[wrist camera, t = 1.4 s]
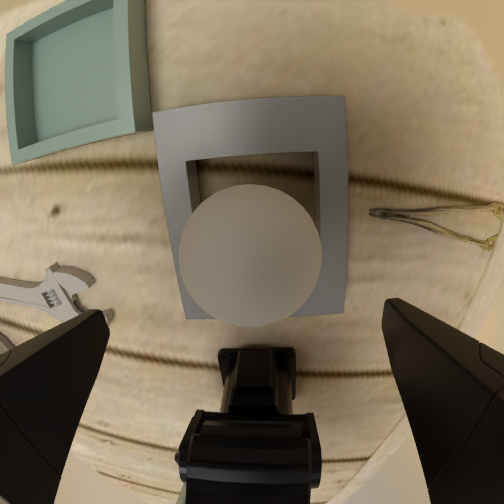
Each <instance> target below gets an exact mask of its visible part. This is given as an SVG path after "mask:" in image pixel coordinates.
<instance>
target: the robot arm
mask: <svg viewBox="0 0 504 504" xmlns="http://www.w3.org/2000/svg"><path fill="white" fill-rule="evenodd" d="M382 331H383V335H384V339H385V343H386V348H387V352H388V356H389V361H390V365H391V369H392V372H393V375H394V378H395V381H396V384H397V387H398V390H399V393H400V396H401V399H402V402H403V405H404V408H405V411H406V414H407V417H408V420H409V423H410V427H411V430H412V433H413V437H414V440H415V443H416V447H417V450H418V454H419V458H420V461H421V465H422V468H423V472H424V476H425V480H426V484H427V488H428V489H429V490H428V493H429V497H430V502H431V504H504V355H503V354H501V353H500V352H498V351H496V350H494V349H492V348H490V347H488V346H487V345H485V344H483V343H479V341H478V340H476V339H474V338H472V337H470V336H469V335H467V334H465V333H463V332H461V331H459V330H458V329H456V328H454V327H452V326H450V325H448V324H447V323H445V322H443V321H441V320H439V319H437V318H435V317H434V316H432V315H430V314H428V313H426V312H424V311H422V310H420V309H419V308H417V307H415V306H413V305H411V304H409V303H407V302H405V301H403V300H402V299H400V298H391V299H387V300H386V301H385V303H384V310H383V317H382ZM109 336H110V331H109V327H108V325H107V322H106V319H105V316H104V314H103V312H102V311H101V310H99V309H90V310H88V311H86V312H84V313H82V314H80V315H78V316H76V317H74V318H72V319H70V320H68V321H66V322H64V323H62V324H60V325H58V326H56V327H54V328H52V329H50V330H48V331H46V332H44V333H42V334H40V335H38V336H36V337H34V338H32V339H30V340H28V341H26V342H24V343H22V344H20V345H18V346H16V347H14V348H13V349H10V350H8V351H6V352H4V353H2V354H0V504H54V501H55V497H56V493H57V490H58V487H59V483H60V480H61V475H62V472H63V469H64V466H65V463H66V460H67V457H68V453H69V451H70V448H71V445H72V442H73V439H74V436H75V433H76V430H77V427H78V425H79V422H80V419H81V416H82V414H83V411H84V408H85V406H86V403H87V400H88V398H89V395H90V393H91V390H92V388H93V385H94V383H95V380H96V378H97V375H98V372H99V369H100V366H101V363H102V359H103V356H104V353H105V349H106V346H107V343H108V340H109ZM288 353H292V354H290V355H289V354H288ZM222 355H225V356H222ZM218 361H219V366H220V371H221V376H222V381H223V386H224V391H223V397H222V403H221V409H220V412H207V411H204V410H196V413H195V415H194V417H192V419H191V421H190V424H189V426H188V428H187V430H186V432H185V435H184V437H183V439H182V441H181V444H180V446H179V450H178V451H177V453H176V454H175V461H176V463H177V464H178V465H179V473H180V478H181V480H182V482H184V483H186V499H185V504H310V493H311V489H313V488H318V487H319V484H320V479H321V468H322V457H321V446H320V441H319V436H318V432H317V427H316V422H315V418H314V413H306V414H293V412H292V400H294V399H295V384H296V353H295V350H294V349H293V348H272V349H223V350H220V351H219V352H218Z"/></svg>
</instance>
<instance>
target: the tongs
mask: <svg viewBox="0 0 504 504" xmlns="http://www.w3.org/2000/svg"><path fill="white" fill-rule="evenodd" d="M498 208H500V211H499V212H497V211H498ZM503 208H504V207H503V205H502V204H501V203H497V202H494V203H492V204H488V205H471V206H457V207H451V208H435V209H434V208H433V209H424V210H383V209H371V210H370V213H369V215H371V216H374V217H377V218H381V219H391V220H396V221H402V222H406V223H411V224H415V225H418V226H421V227H423V228H426V229H428V230H430V231H432V232H434V233H437V234H441V235H444V236H447V237H450V238H453V239H458V240H461V241H466V242H471V243H474V244H477V245H480V246H481V247H482V249H483V250H488V251H490V250H493V248H494V245H495V239H496V238H497V237H498V235H496V236H494V237H489V238H488V240H487V241H482V240H477V239H474V238H471V237H467V236H461V235H458V234H457V233H454V232H452V231H450V230H447V229H444V228H441V227H439V226H436V225H434V224H431V223H428V222H424V221H420V220H417V219H410V218H407V216H411V215H424V216H429V215H439V214H445V213H449V212H455V211H461V210H464V211H477V210H493V211H494V215H495V216H497V217H499V219H500V220H503V219H502V216H501V213H502V211H503ZM496 212H497V213H496ZM472 240H474V241H472ZM490 240H491V241H492V242H493V243H492V245H490Z"/></svg>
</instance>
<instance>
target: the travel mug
mask: <svg viewBox="0 0 504 504" xmlns="http://www.w3.org/2000/svg"><path fill="white" fill-rule="evenodd" d="M13 348H14V346H13V345H12V343H11V342H10V341H9V340H8V339H7V338H6V337H5V336H3V335H2V334H0V354H2V353H4V352H6V351H8V350H10V349H13Z"/></svg>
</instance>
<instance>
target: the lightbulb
mask: <svg viewBox="0 0 504 504" xmlns="http://www.w3.org/2000/svg"><path fill="white" fill-rule="evenodd" d="M321 263H322V246H321V242H320V237H319V233H318V231H317V229H316V226H315V224H314V222H313V220H312V218H311V216H310V215H309V214H308V213H307V211H306V210H305V209H304V207H303V206H302V205H301V204H299V203H298V202H297V201H296V200H295V199H293V198H292V197H291V196H289V195H287V194H285V193H284V192H282V191H280V190H278V189H274V188H271V187H268V186H265V185H255V184H244V185H235V186H232V187H228V188H225V189H222V190H220V191H218V192H216V193H214V194H213V195H211V196H209V197H208V198H207V199H206V200H204V201H203V202H202V203H201V204H200V205H199V206H198V207H197V208H196V209H195V211H194V212H193V213H192V215H191V216H190V217H189V219H188V220H187V223H186V225H185V227H184V229H183V231H182V236H181V240H180V245H179V267H180V271H181V276H182V280H183V282H184V285H185V287H186V289H187V291H188V293H189V294H190V295H191V297H192V298H193V300H194V301H195V302H196V303H197V304H198V305H199V306H200V307H201V308H202V309H203V310H204V311H205V312H207V313H208V314H209V315H211V316H212V317H214V318H215V319H218V320H220V321H222V322H224V323H227V324H230V325H234V326H239V327H261V326H266V325H271V324H273V323H276V322H278V321H281V320H283V319H285V318H286V317H288V316H290V315H291V314H293V313H294V312H296V311H297V310H298V309H299V308H300V307H301V306H302V305H303V304H304V303H305V301H306V300H307V299H308V297H309V296H310V295H311V293H312V291H313V289H314V287H315V285H316V283H317V280H318V278H319V274H320V269H321Z"/></svg>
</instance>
